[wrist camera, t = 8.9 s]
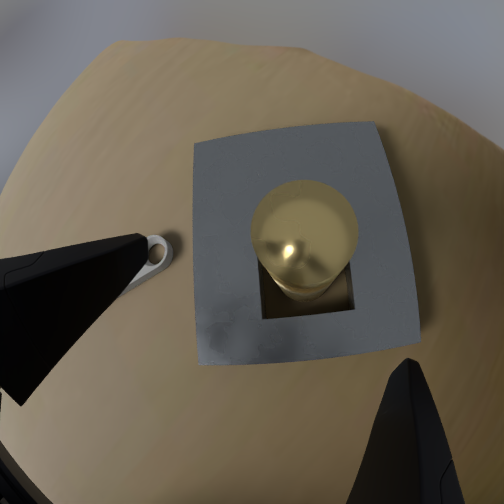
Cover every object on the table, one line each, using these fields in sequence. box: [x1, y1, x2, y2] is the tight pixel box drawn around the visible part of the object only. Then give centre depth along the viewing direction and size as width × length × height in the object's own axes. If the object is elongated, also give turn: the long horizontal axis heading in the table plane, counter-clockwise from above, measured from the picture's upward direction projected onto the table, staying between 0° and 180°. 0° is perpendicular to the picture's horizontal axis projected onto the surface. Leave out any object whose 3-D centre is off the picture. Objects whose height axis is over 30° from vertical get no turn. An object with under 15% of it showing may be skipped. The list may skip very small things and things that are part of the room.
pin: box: [251, 180, 358, 302], centre depth 14 cm, size 4×4×10 cm
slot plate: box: [193, 121, 421, 365], centre depth 18 cm, size 16×14×2 cm
